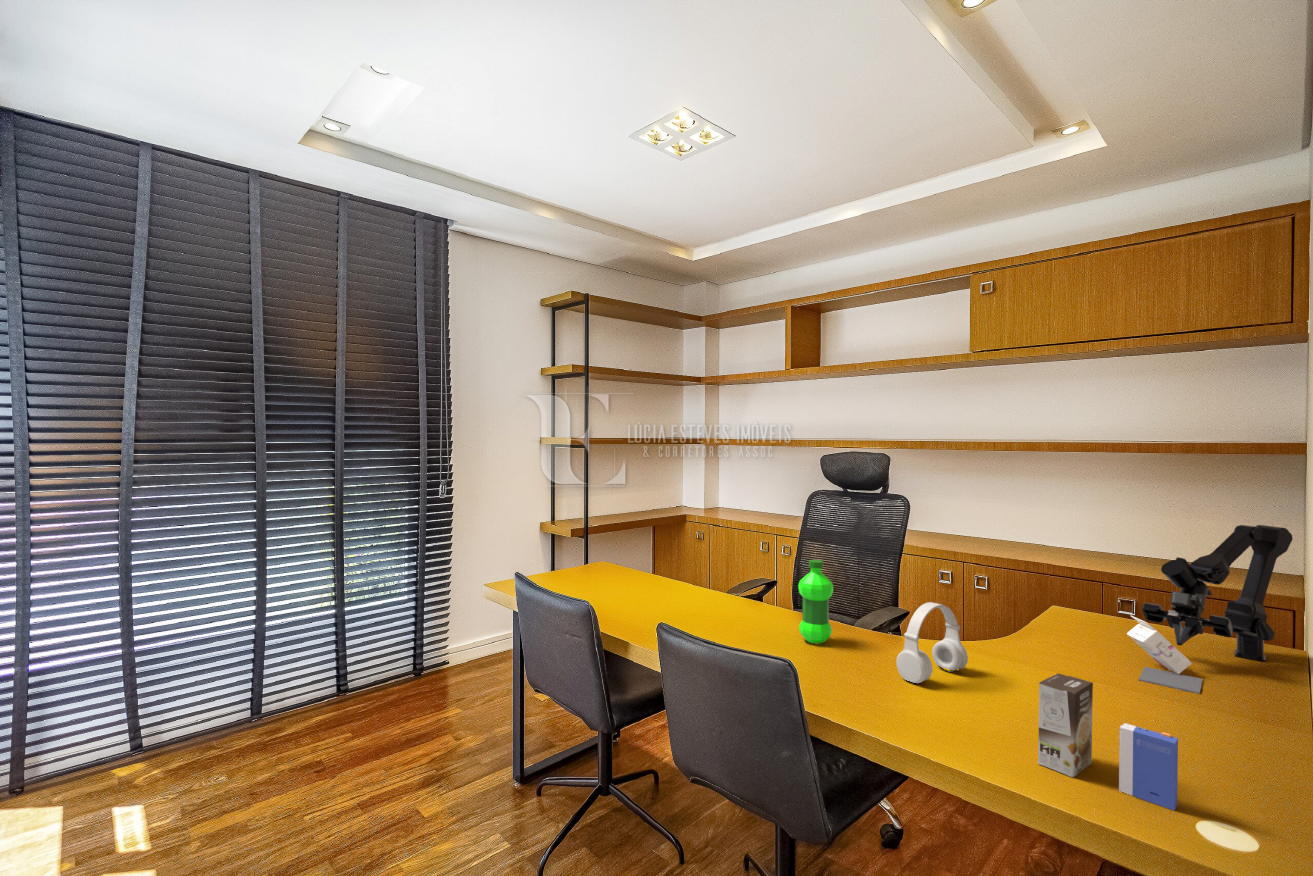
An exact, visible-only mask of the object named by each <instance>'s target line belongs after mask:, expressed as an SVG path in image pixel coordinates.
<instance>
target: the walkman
mask: <svg viewBox="0 0 1313 876" xmlns="http://www.w3.org/2000/svg"><path fill="white" fill-rule="evenodd" d="M1118 734H1119V739H1118V740H1119V741H1118V742H1119V743H1118V746H1119V749H1118V750H1119V754H1118V755H1119V756H1118V757H1119V759H1118V760H1119V761H1118V765H1119V766H1118V767H1119V769H1118V792H1120V791H1121V793H1122V792H1124V793H1123V794H1125V793H1127V794H1126V795H1128V794H1130V795H1129V796H1131V795H1133V796H1132V797H1134V796H1135V797H1134V798H1138V799H1139V800H1143V801H1146V802H1148V803H1152V804H1154V805H1157V806H1160V807H1163V808H1165V809H1168V810H1171V811H1176V808H1177V806H1178V785H1179V784H1178V781H1179V779H1178V777H1179V776H1178V775H1179V772H1178V771H1179V769H1178V768H1179V767H1178V766H1179V738H1178V737H1174V736H1172V735H1171V734H1170V733H1166V732H1163V731H1162V732H1158V731H1155V730H1154V731H1153V730H1150V729H1146V728H1143V727H1139V726H1137V725H1133V724H1130V723H1125V722H1124V723H1123V724H1121V725H1120V726H1119V733H1118Z"/></svg>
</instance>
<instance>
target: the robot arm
mask: <svg viewBox="0 0 1313 876" xmlns="http://www.w3.org/2000/svg"><path fill="white" fill-rule="evenodd" d="M1292 541H1293V535H1292V533H1291V532H1290V530H1289V529H1287V528H1286V527H1283V526H1282V527H1279V526H1271V525H1264V524H1258V525H1255V526H1252V525H1245V524H1240V525H1236V526H1235V528H1234V530H1233V532H1232V533H1231V534H1230V535H1229V536H1227V538H1226V539H1224V540H1223V542H1221V543H1220V544H1219V545H1218V546H1217V548H1215V549H1214V550H1213V551H1212V552H1211V553H1209V554H1207V555H1203V556H1199V557H1198V558H1196V559H1195V560H1193V561H1192V562H1191V563H1190V564H1189V562H1188V561H1187V560H1186V559H1185V558H1183V557H1176V559H1174V560H1173V559H1172V560H1169V561H1167V562H1165V563H1163V564H1162V566H1161V569H1160V571H1161V573H1162V574H1163V575H1164V576H1165V577H1166V578H1167V579H1168V580H1169V581H1170V583H1172V585H1174V587H1176V588H1180V589H1179V592H1178V591H1171V594H1170V600H1169V603H1170V604H1171V606H1170V607H1171V609H1168V610H1167V611H1166V610H1163V607H1162V605H1161V604H1156V603H1152V602H1151V603H1150V602H1145V603H1143V604H1142V606H1141V611H1142V613H1143V616H1144V618H1145V620H1146V621H1148V622H1152V623H1157V624H1162V623H1164V621H1165V619H1166V621H1167V623H1168V626H1169V628H1171V629H1173V632H1174V636H1175V642H1176V645H1177V646H1179V647H1181V646H1183V645H1185V643H1187V642H1188V641H1189V640H1190V639H1192V638H1193V637H1195V636H1197V635H1203V634H1204V631H1203V630H1204V628H1205V627H1209V628H1212V629H1213V630H1212V632H1213V633H1214V634H1215V635H1216V636H1220V637H1224V638H1225V637H1226V638H1232V637H1233V633H1234V634H1236V649H1234V657H1239V658H1244V659H1248V660H1255V661H1259V660H1260V662H1267V657H1266V654H1265V653H1264V651H1265V648H1264V647H1265V641H1267V642H1271V640H1274V637H1275V635H1276V634H1275V631H1274V630H1273V628H1272V627H1271V626H1270V625H1269V624H1268V623H1267V619H1268V615H1267V613H1266V610H1265V608H1264V601H1265V598H1266V595H1267V592H1268V588H1269V585H1270V582H1271V578H1272V575H1273V571H1274V568H1275V565H1276V563H1277V562H1276V561H1277V559H1278V558H1279V557H1281V556H1282V555H1283V554H1285V553H1286V552H1287V551H1288V550H1289V547H1290V546H1291V543H1292ZM1250 547H1251V549H1252V556H1251V560H1250V563H1249V567H1248V569H1247V572H1246V576H1245V579H1244V582H1243V586H1242V589H1241V592H1240V595H1239V598H1237V599H1236V600H1235V601H1231V600H1229V601H1228V602H1227V603H1226V604H1227V605H1226V610H1225V611H1224V612H1223V613H1224V616H1221V615H1215V614H1210V615H1209V618H1205V617H1202V614H1203V612H1204V608H1205V606H1206V605H1205V604H1206V599H1207V596H1212V595H1213V593H1212V591H1211V590H1210V588H1209V586H1208V585H1207V583H1208V584H1212V585H1218V586H1219V585H1221V584H1223V583H1224V582H1225V581H1226V579H1227V578H1228V577H1229V575H1230V574H1231V572H1230V567H1231V565H1232V564H1233V563H1234V562H1235V561H1236V560H1237V559H1239V557H1240V556H1241V555H1243V553H1244V552H1246V551H1247V550H1248V549H1249V548H1250ZM1182 623H1184V627H1183V625H1182Z"/></svg>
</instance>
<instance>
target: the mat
mask: <svg viewBox="0 0 1313 876" xmlns="http://www.w3.org/2000/svg"><path fill="white" fill-rule="evenodd" d="M1138 681H1140V682H1145V683H1149V684H1154V685H1158V686H1163V687H1166V688H1167V687H1168V688H1171V689H1175V690H1181V691H1184V692H1188V693H1192V694H1198V695H1200V693H1201V689H1202V684H1203V678H1201V677H1196V676H1190V675H1186V674H1181V673H1180V674H1176V673H1175V672H1173V671H1167V670H1163V669H1158V668H1152V667H1148V666H1144V667H1143V669H1142V671H1141V673H1140V676H1139V677H1138Z"/></svg>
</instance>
